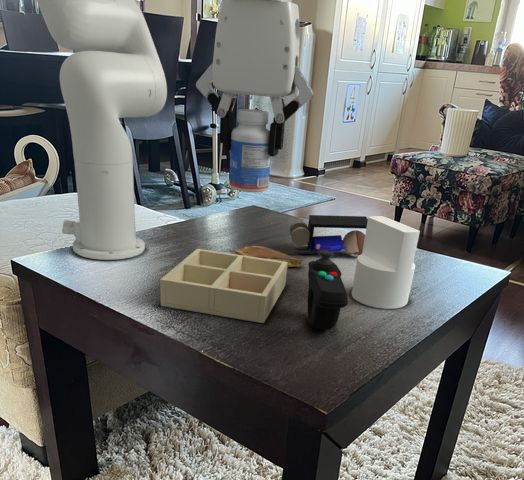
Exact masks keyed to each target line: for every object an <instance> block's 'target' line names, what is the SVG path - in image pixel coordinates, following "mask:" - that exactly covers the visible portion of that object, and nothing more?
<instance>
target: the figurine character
mask: <svg viewBox="0 0 524 480" xmlns="http://www.w3.org/2000/svg"><path fill="white" fill-rule="evenodd" d="M367 222H368V217H367V216H365V215H364V216H363V215H330V214H329V215H325V214H323V215H321V214H309V215H308V223H306V222H304V221H302V220H297V221H294V222H293V223H291V224H290V226H289V234H290V235H289V236H290V237H291V242H292V243H293V244H294V245H296V246H298V250H301V251H300V252H299V254H301V255H307V254H308V255H310V254H316V253H319V251H320V250H330V251H332V252H342V251H344V252H345V253H346V254H347V255H349V256H351V257H358V256H359V255H362V252H363V246H364V240H365V234H366V233H364V232H363V231H361V230H362V229H363V230H364V229H365V230H366V228H367ZM315 228H318V229H319V228H325V229H333V228H334V229H354V230H350V231H348V232H347V233H346V234H344V236H343V238H342V235H341V234H337V235H336V234H335V235H316V236H315V235H314V232H315ZM356 229H358V230H356ZM359 229H361V230H359Z"/></svg>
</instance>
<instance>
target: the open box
mask: <svg viewBox="0 0 524 480" xmlns="http://www.w3.org/2000/svg"><path fill="white" fill-rule="evenodd" d="M287 264H288V262H284V261H277V260H270V259H264V258H257V257H250V256H243V255H237V254H236V253H229V252H221V251H216V250H215V251H214V250H208V249H203V248H196V249H195V250H194V251H192V252H191V253H190V254H189V255H187V256H186V257H185V258H184V259H183V260H181V261H180V262H179V263H178V264H177V265H176V266H174V267H173V268H172V269H171V270H169V271H168V272H167V273H166V274H165V275H163V276H162V277H161V278H160V279H159V281H160V282H159V287H160V288H159V289H160V291H159V293H160V306H161V307H166V308H172V309H178V310H184V311H189V312H196V313H201V314H207V315H211V316H218V317H225V318H231V319H237V320H242V321H246V322H247V321H248V322H255V323H260V324H264V323H265V322H266V321H267V318H268V317H269V315H270V313H271V311H272V310H273V308H274V306H275V305H276V304H277V302H278V299H279V298H280V296H281V294H282V292H283V290H284V289H285V287H286V282H287V273H288V267H287Z"/></svg>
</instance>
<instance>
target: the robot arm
mask: <svg viewBox="0 0 524 480" xmlns="http://www.w3.org/2000/svg"><path fill="white" fill-rule="evenodd" d="M292 1H293V0H221V2H220V7H219V10H218V11H219V12H218V17H217V23H216V29H215V39H214V45H213V47H214V49H213V60H212V62H211V64H210V65H209V66H208V67H207V68H206V70H205V71H204V73H203V74H201V76H200V77H199V78H198V80H197V81H196V82H195V87H196V89H197V90H198V91H199V92H200V93H201V94H202V95H203V97H204V98H206V100H207V102H208V103H209V104H210V105H211V107H212V108H213V109H214V111H215V112H216V114H217V116H218V117H219V143H220V144H222V151H223V152H229V151H230V149H231V132H232V130H233V129H234V128H236V118H235V116H234V111H233V110H234V109H235V105H236V102H237V99H238V97H239V95H243V96H244V95H245V96H255V97H268V98H269V99H270V104H271V107H272V112H273V120H272V122H271V123H269V124H270V125H269V131H270V136H269V150H268V155H270V156H271V157H273V158H274V157H276V156H277V155H279V150H280V151H281V150H283V147H284V139H285V127H286V126H285V125H286V122H287V121H288V120H289V119H290V118H291V117H292V116H293V115H294V114H295V113H297V111H298V110H299V109H301V108H302V107H303V106H305V105H306V104H307V103H308V102H309V101H311V100H312V99H313V98H314V97H315V92H314V90H313V89H312V87H311V85H310V84H309V82H308V81H307V79H306V78H305V76H304V74H303V72H302V71H301V69H300V68H299V66H300V63H299V62H300V39H301V38H300V34H301V33H300V11H299V5H298V4H296V3H294V2H292ZM36 3H37V5H38V9H39V10H40V13H41V15H42V18H43V20H44V23H45V25H46V27H47V29H48V32H49V34H50V36H51V37H52V39H53V40H54V42H55V43H56V44H57V45H58V46H59V47H61V48H64V49H66V50H70V51H76V52H74V53H72V54H70V55H69V56H67V57H66V58H65V60H64V61H63V62H62V64H61V67H60V69H59V85H60V90H61V95H62V98H63V102H64V105H65V109H66V113H67V118H68V122H69V128H70V136H71V143H72V154H73V161H74V171H75V173H74V174H75V183H76V184H75V185H76V196H77V206H78V207H77V208H78V217H79V219H78V220H79V221H78V222H77V221H76V220H67V219H65V220H64V221H63V223H62V228H61V232H62V234H66V235H73V236H74V240H73V242H72V250H73V252H74V253H75V254H76V255H78V256H81V257H84V258H88V259H92V260H100V261H101V260H102V261H103V260H104V261H112V260H113V261H114V260H116V261H117V260H125V259H130V258H134V257H137V256H139V255H141V254H142V253H143V252H144V251H145V248H146V243H145V241H144V240H143V239H141V238H139V237H137V234H136V210H135V209H136V208H135V185H134V182H135V181H134V160H133V147H132V144H131V141H130V138H129V136H128V133H126V130H125V128H124V127H123V125H122V123H121V121H120V119H124V118H128V119H129V118H149V117H153V116H155V115H157V114H159V113H160V112H162V110H163V109H164V107H165V105H166V102H167V98H168V85H167V79H166V75H165V71H164V69H163V65H162V63H161V60H160V57H159V54H158V52H157V51H158V50H157V48H156V46H155V43H154V39H153V38H152V34H151V32H150V29H149V26H148V24H147V21H146V18H145V16H144V13H143V12H142V9H141V7H140V6H139V4H138V2H137V1H136V0H36ZM212 84H213V86H214V88H213V86H212ZM215 89H216V90H218V91H219V92H222V95H220V93H218V92H217V91H216V90H215ZM296 91H298V94H297V96H295V98H293V99H292V100H291V101H289V102H288V103H286V98H285V97H289V96H291V95H293V94H295V93H296Z"/></svg>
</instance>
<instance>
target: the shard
mask: <svg viewBox="0 0 524 480" xmlns="http://www.w3.org/2000/svg"><path fill="white" fill-rule="evenodd" d="M234 254H236V255H243V256H250V257H257V258H264V259H270V260H277V261H284V262H288V264H287V268H292V267H294V268H295V267H296V268H299V267H300V266H301V263H303V260H302V259H299V258H297V257H292V256H290V255H288V254H286V253H283V252H280V251H278V250H276V249H272V248H269V247H266V246H264V245H261V246H258V245H250V246H249V245H248V246H245V247H240V248H237V249H235V251H234Z"/></svg>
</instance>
